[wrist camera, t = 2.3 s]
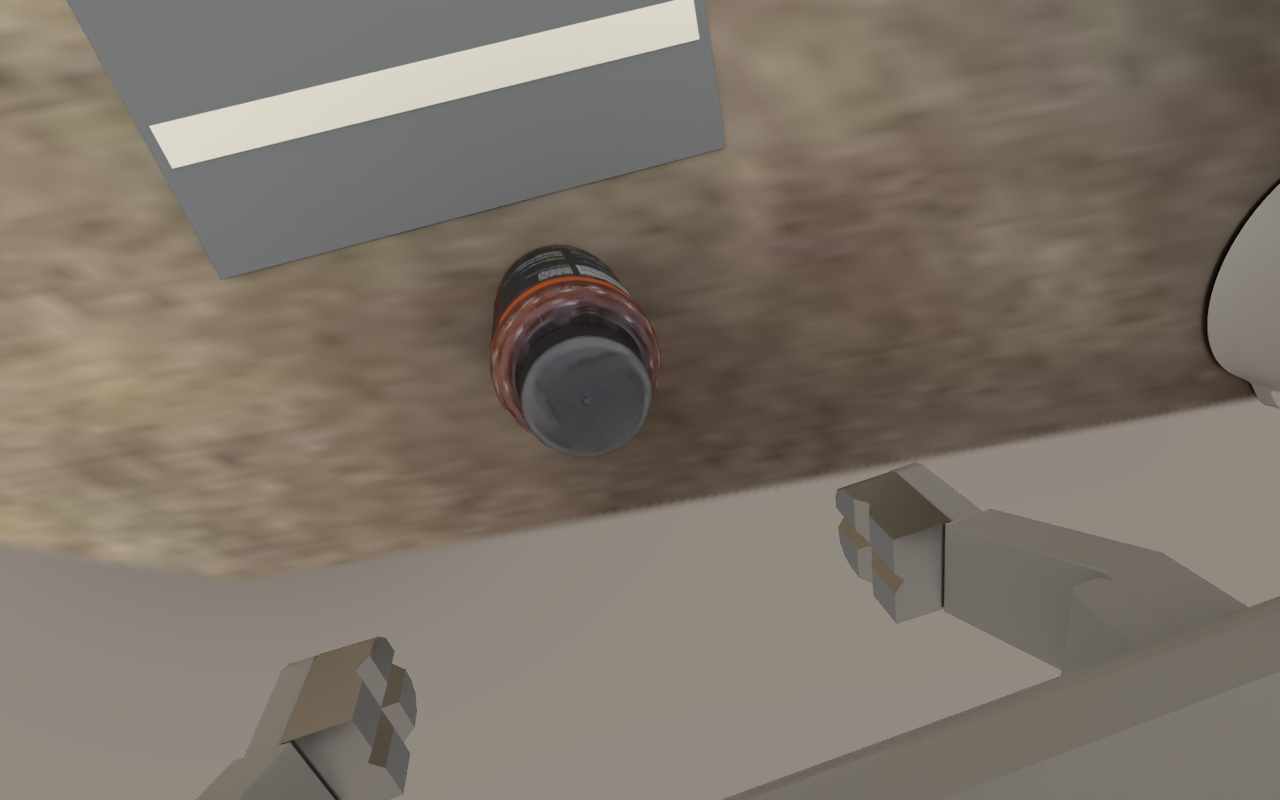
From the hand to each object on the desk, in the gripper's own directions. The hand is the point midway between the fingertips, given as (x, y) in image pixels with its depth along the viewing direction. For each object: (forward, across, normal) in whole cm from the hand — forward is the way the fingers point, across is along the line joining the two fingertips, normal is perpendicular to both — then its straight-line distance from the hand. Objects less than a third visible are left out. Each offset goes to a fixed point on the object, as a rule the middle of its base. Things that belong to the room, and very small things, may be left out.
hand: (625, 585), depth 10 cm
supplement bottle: (+20, 0, 0) cm, 20 cm away
